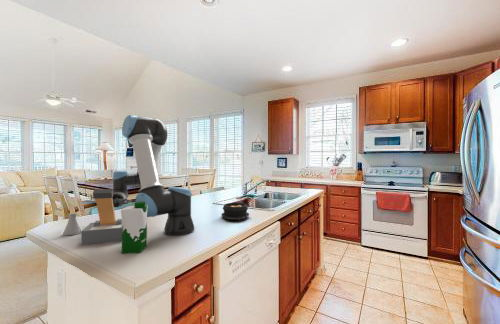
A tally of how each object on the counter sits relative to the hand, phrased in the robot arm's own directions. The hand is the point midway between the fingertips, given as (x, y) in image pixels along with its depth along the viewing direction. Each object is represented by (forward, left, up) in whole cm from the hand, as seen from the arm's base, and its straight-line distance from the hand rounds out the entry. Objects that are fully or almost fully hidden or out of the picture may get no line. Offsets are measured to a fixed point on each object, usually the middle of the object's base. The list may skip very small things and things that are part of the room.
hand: (106, 208), depth 106 cm
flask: (+24, -1, -15) cm, 28 cm away
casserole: (-41, -60, -15) cm, 74 cm away
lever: (+2, -3, -9) cm, 10 cm away
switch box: (+2, -3, -15) cm, 15 cm away
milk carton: (-22, +5, -15) cm, 27 cm away
